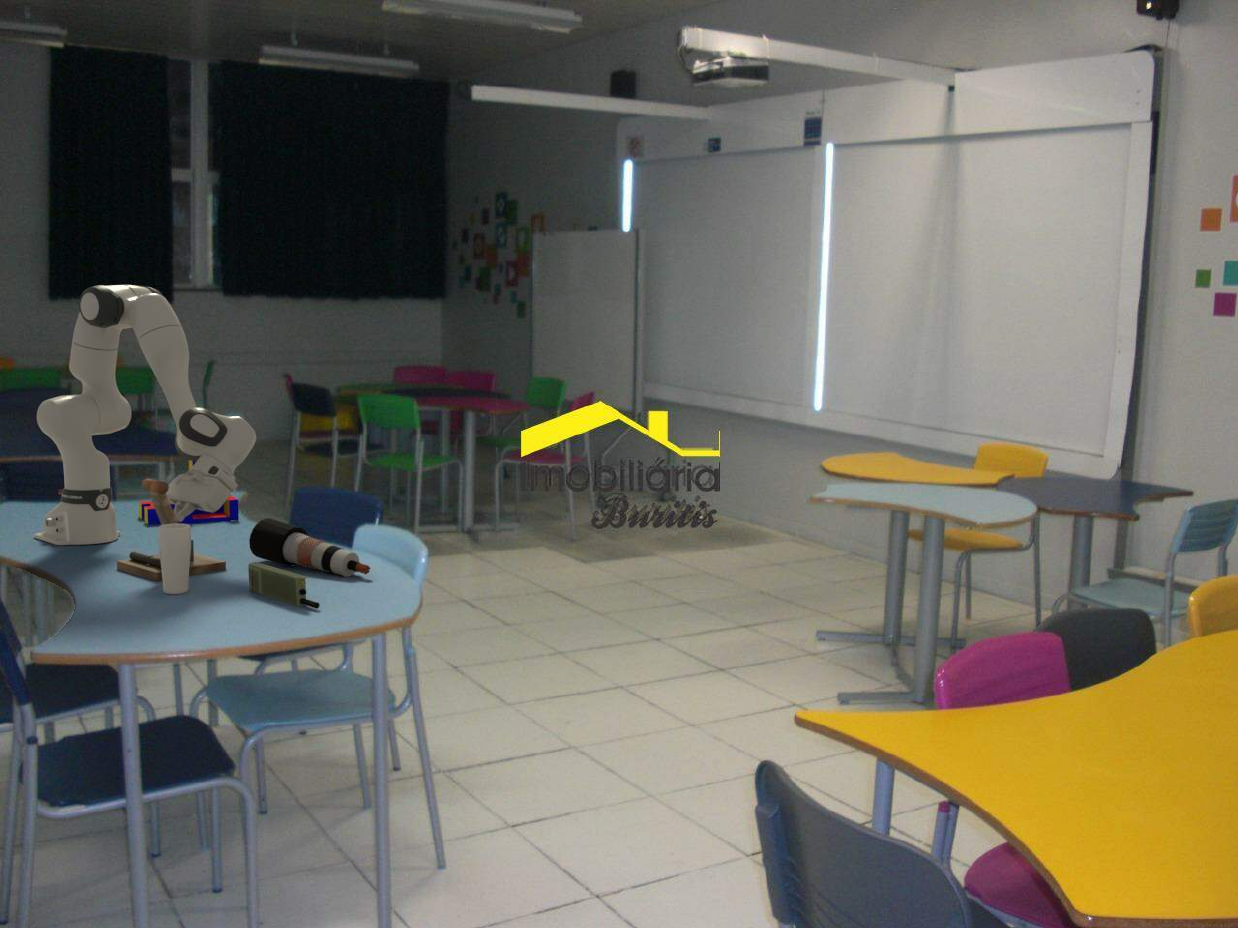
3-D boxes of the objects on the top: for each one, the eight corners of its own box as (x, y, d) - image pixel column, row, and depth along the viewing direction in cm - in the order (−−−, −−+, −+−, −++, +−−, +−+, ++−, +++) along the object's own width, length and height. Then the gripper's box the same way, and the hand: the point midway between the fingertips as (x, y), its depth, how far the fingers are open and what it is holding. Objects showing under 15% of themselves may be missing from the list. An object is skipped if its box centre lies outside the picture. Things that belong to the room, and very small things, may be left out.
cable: (358, 599, 285) (347, 566, 279) (256, 565, 301) (244, 533, 296) (385, 573, 292) (375, 540, 286) (284, 542, 308) (273, 510, 303)
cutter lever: (181, 549, 295) (150, 476, 287) (197, 554, 291) (166, 479, 283) (170, 556, 293) (138, 482, 285) (185, 560, 289) (154, 486, 280)
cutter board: (185, 558, 303) (184, 530, 302) (226, 569, 291) (225, 541, 290) (117, 568, 289) (116, 540, 288) (156, 581, 277) (156, 551, 277)
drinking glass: (153, 594, 265) (152, 527, 263) (169, 587, 272) (167, 522, 270) (182, 596, 264) (181, 529, 262) (197, 589, 271) (196, 524, 269)
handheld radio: (260, 589, 274) (324, 609, 257) (247, 592, 271) (311, 613, 255) (258, 561, 273) (323, 579, 256) (245, 563, 270) (310, 582, 254)
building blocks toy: (137, 516, 359) (136, 456, 356) (223, 511, 372) (222, 452, 369) (149, 527, 343) (147, 463, 340) (238, 521, 356) (237, 460, 353)
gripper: (177, 462, 300) (143, 506, 294) (225, 471, 287) (189, 517, 281) (194, 478, 304) (160, 521, 298) (241, 487, 291) (207, 532, 285)
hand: (175, 519), depth 289 cm, fingers closed, pressing on cutter lever
